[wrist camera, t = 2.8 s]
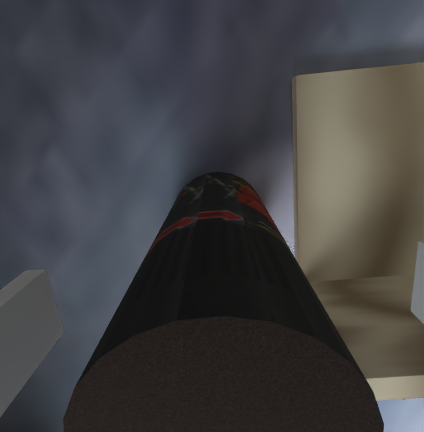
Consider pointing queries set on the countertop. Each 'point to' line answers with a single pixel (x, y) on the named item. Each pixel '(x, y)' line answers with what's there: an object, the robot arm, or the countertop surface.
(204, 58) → the countertop surface
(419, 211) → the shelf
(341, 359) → the deodorant
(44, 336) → the robot arm
